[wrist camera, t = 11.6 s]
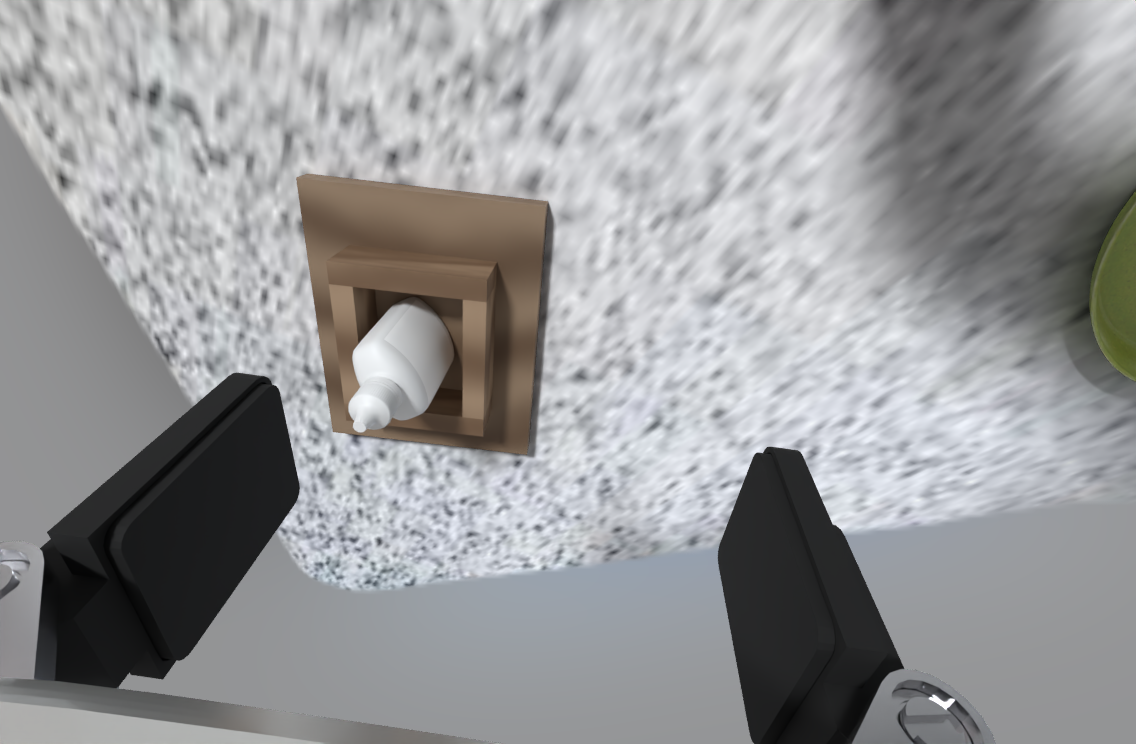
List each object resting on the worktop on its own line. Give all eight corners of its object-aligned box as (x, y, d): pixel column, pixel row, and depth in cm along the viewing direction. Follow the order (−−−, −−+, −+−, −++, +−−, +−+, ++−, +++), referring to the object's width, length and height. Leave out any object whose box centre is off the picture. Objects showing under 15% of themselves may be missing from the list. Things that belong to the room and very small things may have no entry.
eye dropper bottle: (453, 297, 38) (395, 385, 27) (456, 367, 40) (404, 471, 30) (391, 292, 38) (309, 378, 27) (398, 362, 41) (327, 464, 30)
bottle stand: (307, 173, 36) (266, 188, 31) (548, 201, 36) (540, 220, 31) (340, 421, 46) (312, 458, 41) (529, 443, 45) (521, 483, 41)
